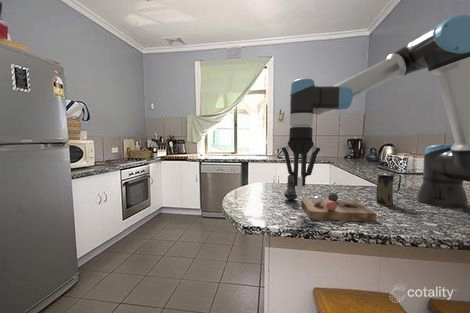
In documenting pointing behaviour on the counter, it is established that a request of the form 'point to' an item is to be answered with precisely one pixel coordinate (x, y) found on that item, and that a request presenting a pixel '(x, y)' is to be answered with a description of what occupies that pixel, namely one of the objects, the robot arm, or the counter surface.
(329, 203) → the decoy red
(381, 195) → the mug
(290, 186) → the salt shaker
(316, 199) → the steel ball
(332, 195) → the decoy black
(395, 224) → the counter surface
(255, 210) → the counter surface
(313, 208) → the wooden board
